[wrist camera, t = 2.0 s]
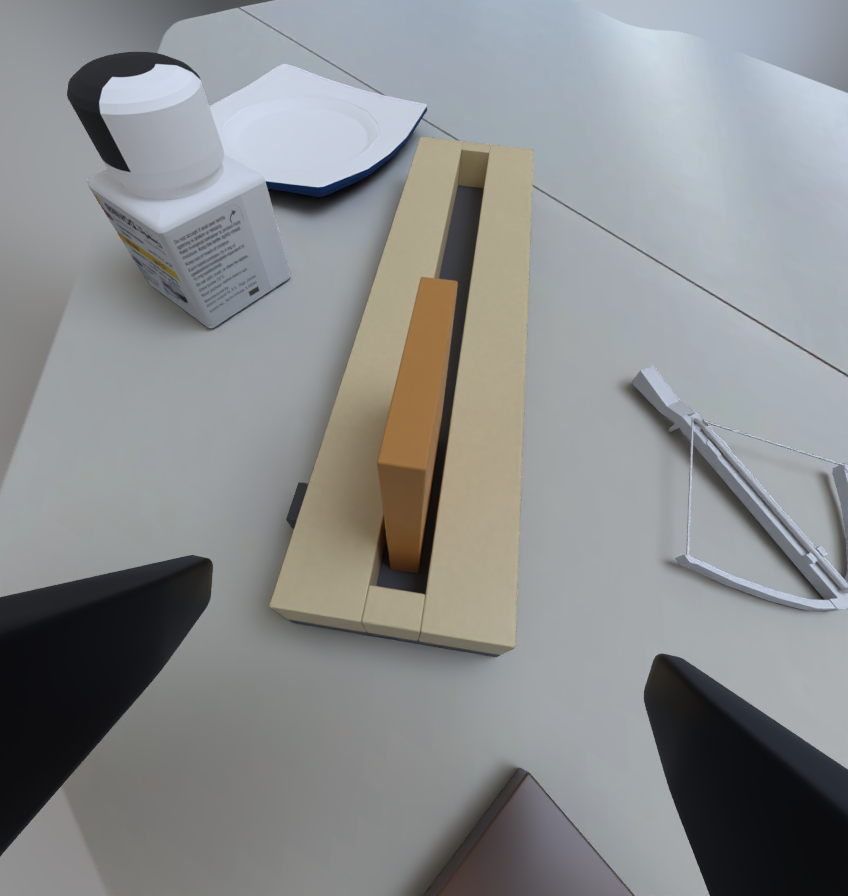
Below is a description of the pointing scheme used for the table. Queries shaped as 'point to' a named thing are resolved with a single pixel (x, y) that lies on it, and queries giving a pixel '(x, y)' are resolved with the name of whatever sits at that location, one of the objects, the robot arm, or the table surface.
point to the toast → (416, 423)
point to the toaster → (462, 426)
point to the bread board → (526, 852)
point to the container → (177, 186)
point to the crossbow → (753, 504)
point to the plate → (312, 130)
